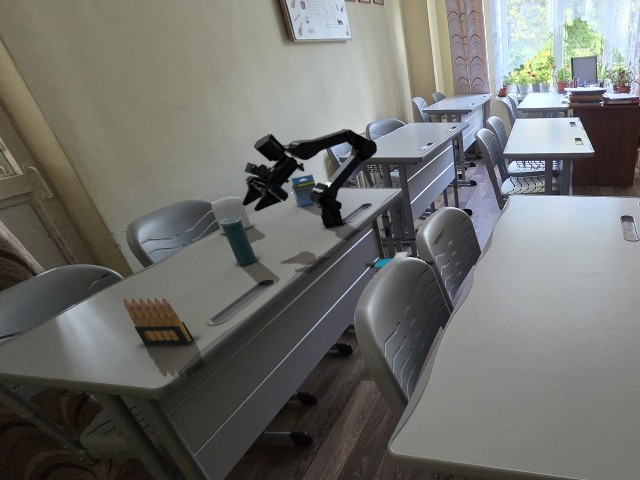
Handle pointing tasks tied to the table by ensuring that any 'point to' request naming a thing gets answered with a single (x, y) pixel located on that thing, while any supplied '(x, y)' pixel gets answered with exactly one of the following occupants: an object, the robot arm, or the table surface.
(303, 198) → the label tape box
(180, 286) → the table surface
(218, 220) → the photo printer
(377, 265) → the phone stand
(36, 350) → the table surface
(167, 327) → the ammunition clip
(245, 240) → the tin
